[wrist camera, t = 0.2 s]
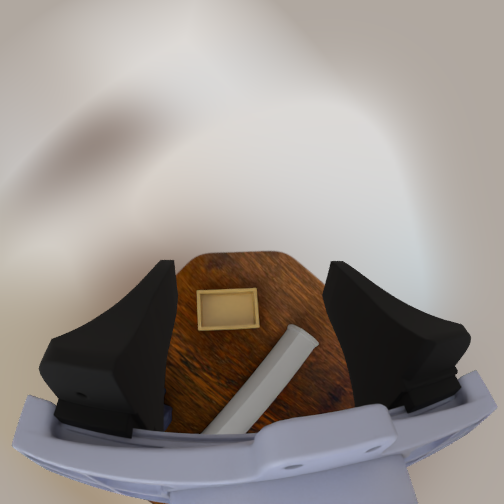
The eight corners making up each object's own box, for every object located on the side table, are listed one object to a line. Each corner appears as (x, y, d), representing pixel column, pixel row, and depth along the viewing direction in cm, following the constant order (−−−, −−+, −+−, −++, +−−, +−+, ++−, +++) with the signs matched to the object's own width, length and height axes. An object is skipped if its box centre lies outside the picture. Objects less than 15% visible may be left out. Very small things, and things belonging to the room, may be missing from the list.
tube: (220, 469, 31) (324, 346, 38) (192, 456, 30) (301, 326, 37) (212, 451, 36) (306, 339, 43) (186, 438, 35) (284, 321, 42)
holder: (257, 327, 42) (259, 327, 40) (199, 330, 41) (198, 330, 39) (254, 290, 44) (256, 287, 42) (198, 292, 43) (196, 290, 41)
